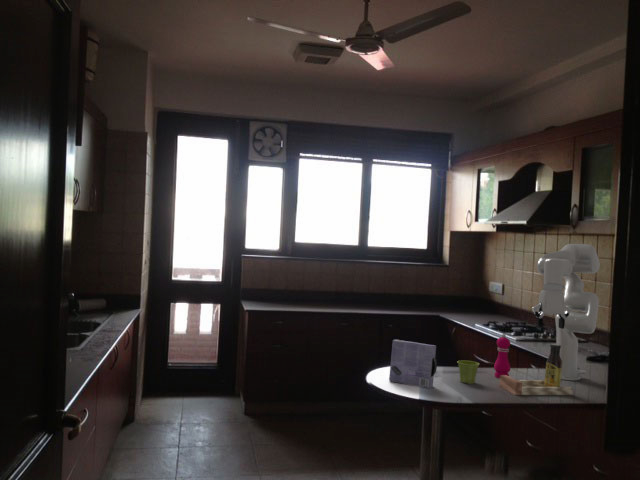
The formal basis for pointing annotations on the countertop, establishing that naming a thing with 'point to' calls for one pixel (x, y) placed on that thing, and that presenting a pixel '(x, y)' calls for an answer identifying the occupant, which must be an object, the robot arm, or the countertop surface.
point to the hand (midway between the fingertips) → (550, 327)
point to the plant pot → (467, 371)
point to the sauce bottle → (553, 367)
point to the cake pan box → (413, 363)
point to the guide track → (531, 387)
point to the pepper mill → (502, 357)
